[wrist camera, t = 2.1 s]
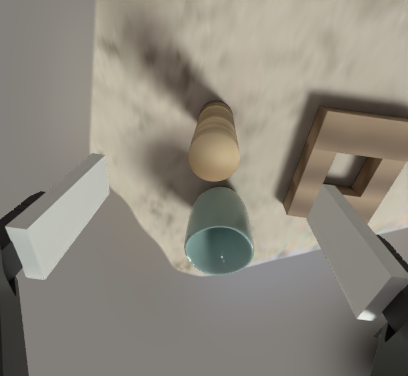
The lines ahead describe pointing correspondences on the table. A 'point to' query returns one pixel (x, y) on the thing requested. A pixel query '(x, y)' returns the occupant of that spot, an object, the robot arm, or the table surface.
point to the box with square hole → (356, 145)
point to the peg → (214, 143)
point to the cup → (219, 233)
